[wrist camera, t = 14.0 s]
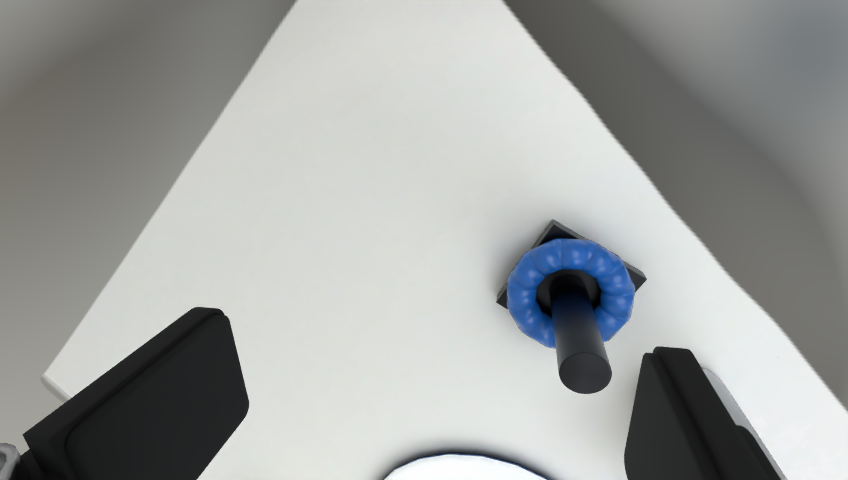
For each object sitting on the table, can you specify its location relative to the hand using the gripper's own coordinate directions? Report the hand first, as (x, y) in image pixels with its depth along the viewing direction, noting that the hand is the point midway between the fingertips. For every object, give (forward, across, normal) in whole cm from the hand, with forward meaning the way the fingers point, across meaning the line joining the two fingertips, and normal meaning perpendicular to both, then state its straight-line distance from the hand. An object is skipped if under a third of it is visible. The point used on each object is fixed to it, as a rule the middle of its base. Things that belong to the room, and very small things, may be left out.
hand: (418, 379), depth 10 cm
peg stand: (+24, -6, +10) cm, 27 cm away
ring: (+22, -6, +10) cm, 25 cm away
